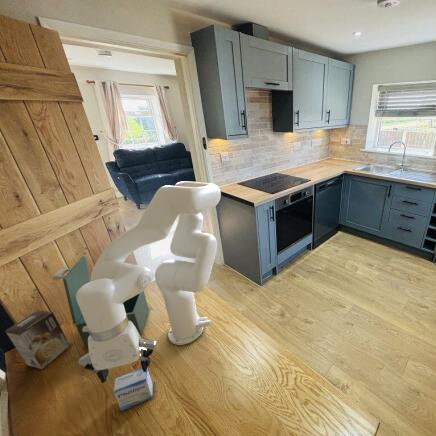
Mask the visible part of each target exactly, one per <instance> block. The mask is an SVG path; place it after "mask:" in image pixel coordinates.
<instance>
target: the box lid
mask: <svg viewBox="0 0 436 436" xmlns="http://www.w3.org/2000/svg"><path fill="white" fill-rule="evenodd" d="M66 273H67V274H66ZM65 274H66V275H65ZM51 278H52V280H53V281H55V282H57V281H60V280H61V279H62V282H63V286H64V291H65V295H66V298H67V302H68V308H69V312H70V315H71V319H72V320H71V321H72V324H73V325H76V323H77V322H78V320H79V318H80V317H81V315H82V312H81V310H80V307H79V305H78V303H77V300H76V294H77V291H78V290H79V289H80V288H81V287H82V286H83V285H85V284H87V283H89V282H91V278H90V274H89V269H88V263H87V259H86V256H85V255H83V256H82V255H81V258H80V259H79V260H78V261H77V262H76V263H75V264H74V265H73V266H72V268H68V267H66V266H62V267H60V268H59V269H58V270H57V272H55V274H53V276H52V277H51Z"/></svg>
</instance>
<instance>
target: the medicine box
mask: <svg viewBox="0 0 436 436" xmlns="http://www.w3.org/2000/svg"><path fill="white" fill-rule="evenodd" d="M153 386H154V385H153V381H152V377H151V374H150V372H149V369H148V367H147V372H143V370H142V368H139V369H137V370H134V371H131V372H129V373H126V374H123V375H121V376H118V377H116V378H114V385H113V390H112V391H113V395H114V397H115V399H116V402H117V404H118V406H119V407H118V408H119V410H120V411H121V412H123V411H125V410H127V409H130V408H131V407H134V406H136V405H138V404H141V403H144V402H146V401H148V400H150V399H152V398H153V391H154V390H153V388H154V387H153Z"/></svg>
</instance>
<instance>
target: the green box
mask: <svg viewBox="0 0 436 436" xmlns="http://www.w3.org/2000/svg"><path fill="white" fill-rule="evenodd" d="M123 305H124V308H125V312H126V315H127V318H128V321H131V322H132V323H133V324H134V326H135V327H136V329H137V331H138V333H139V335H140V336H141V335H142V333H143V330H144V327H145V324H146V320H147V317H148V313H149V310H150V309H149V305H148V302H147V298H146V294H145V290H144V291H143V292H141V293H139V294H138V295H136V296H134V297H132V298H130V299H128V300H127V301H125V302H123ZM84 326H87V325H86V322H85V320H84V317H83V315H81V317H80V318H79V320H78V322H77V323H76V324H75V327H76V329H77V332H78V333H79V335H80V338H81V340H82V342H83V344H84V347H85V348H88V337H89V335H90V334H89V332H83V331H82V329H83V327H84Z"/></svg>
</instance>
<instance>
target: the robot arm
mask: <svg viewBox="0 0 436 436" xmlns="http://www.w3.org/2000/svg"><path fill="white" fill-rule="evenodd" d="M221 198H222V192H221V189H220V187H219V186H218V185H217V184H215V183H211V182H200V181H186V180H185V181H183V180H182V181H178V182H177V183H175V185H164V186H161V187H159V188H158V189H157V190H156V192H155V194H154V195H153V197H152V198H151V201H150V202H149V204H148V205H147V206H146V209H145V211H144V212H143V214H142V216H141V217H140V219H139V221H138V222H137V224H136V225H134V226H133V227H131V228H130V229H127V230H126V231H125V232H123V233H122V234H121V235H119V236H118V237H116V238H115V239H114V240H112V241H111V242H110V243H109V244H108V245H107V246H106V247H105V249H104V250H103V251H102V253H101V255H100V256H99V258H98V259H97V260H96V263H95V264H94V267H92V271H91V275H90V282H89V283H87V284H85V285H83V286H82V287H81V288H80V289H79V290H78V291H77V294H76V300H77V303H78V305H79V307H80V310H81V312H82V315H83V317H84V320H85V322H86V325H87V326H84V327H83V329H82V331H83V332H89V334H90V335H89V337H88V347H87V348H88V352H87V353H85V354H84V355H82V356H80V358H79V360H78V361H77V364H78V365H80V366H82V367H84V369H85V370H89V371H92V374H96V376H97V378H98V379H99V380H100V383H101V384H104V383H106V381H107V379H108V376H109V374H110V369H112V368H115V367H116V368H117V367H121V366H125V365H129V364H132V363H135V362H137V361H138V360H139V361H140V365H141V369H142V370H143V372H147V368H148V367H150V365H151V359H150V356H152V354H153V352H154V350H155V349H156V346H157V341H156V340H151V339H142V338H141V335H139V333H138V331H137V329H136V327H135V326H134V324H133V323H132V322H131V321H128V318H127V315H126V312H125V308H124V305H123V302H125V301H127V300H128V299H130V298H132V297H134V296H136V295H138V294H139V293H141V292H143V291H144V292H145V290H147V289H148V287H149V286H150V285H151V283H152V282H153V278H155V283H156V284H157V287H158V288H159V290H160V292H161V294H162V297H163V300H164V305H165V309H166V313H167V316H168V320H169V325H170V328H169V330H168V333H167V337H168V340H169V342H171V344H174V345H177V346H183V345H188V344H190V343H192V342H194V341H195V340H197V339H198V338H199V337H200V336H201V335H202V333H203V331H204V328H205V327H208V326H211V325H212V320H211V319H208V316H203V317H201V316H200V314H199V313H198V309H197V306H196V300H195V294H194V293H201V292H203V291H204V289H206V288H207V286H208V283H209V280H210V277H211V275H212V270H213V268H214V267H213V266H214V263H215V259H216V256H217V252H218V242H217V237H215V236H214V235H213V234H211V233H209V232H202V229H203V226H204V216H203V213H204V212H207V211H208V210H211V209H213V208H215V207H216V206H218V204H219V202H220V201H221ZM177 218H178V219H177ZM176 220H178V221H177V224H176V227H175V230H174V233H173V236H172V238H171V242H170V247H169V249H170V253H171V254H172V255H174V256H175V257H181V258H187V259H194V262H192V261H185V260H180V259H167V260H165V261H162V262H161V263H159V264H158V266H157V267H156V269H155V273H154V275H153V272H152V270H151V269H150V268H149V267H147V266H145V265H140V264H134V263H130V262H126V260H127V258H128V257H129V256H130V255H131V254H132V253H134V252H135V251H136V250H138V249H140V248H142V247H144V246H146V245H149V244H153V243H156V242H159V241H162V240H165V239H166V238H167V237H168V236H169V234H170V232H171V230H172V228H173V226H174V224H175V223H176ZM153 276H154V277H153Z"/></svg>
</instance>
